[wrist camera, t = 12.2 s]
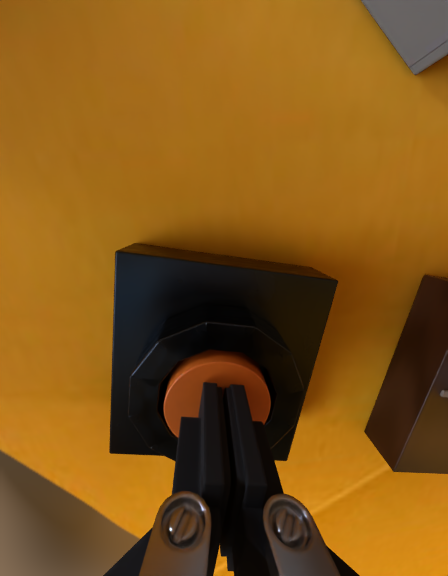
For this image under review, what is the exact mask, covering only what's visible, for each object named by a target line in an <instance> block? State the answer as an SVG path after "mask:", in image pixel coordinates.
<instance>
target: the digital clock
mask: <svg viewBox="0 0 448 576" xmlns="http://www.w3.org/2000/svg"><path fill="white" fill-rule="evenodd" d="M361 1H362V3H363V4H364V5H365V7H366V8H367V10H368V11H369V12H370V14H371V15H372V16H373V18H374V19H375V21H376V22H377V23H378V25H379V26H380V28H381V29H382V30H383V32H384V33H385V35H386V36H387V37H388V39H389V40H390V42H391V43H392V44H393V46H394V47H395V49H396V50H397V51H398V53H399V54H400V56H401V57H402V58H403V60H404V61H405V63H406V64H407V65H408V67H409V68H410V70H411V71H412V72H413V74H414V75H417V74H418V73H420V72H421V71H423V70H424V69H426V68H427V67H429V66H430V65H432V64H434V63H435V62H437V61H438V60H440V59H441V58H443V57H444V56H446V55H447V54H448V0H361Z"/></svg>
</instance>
